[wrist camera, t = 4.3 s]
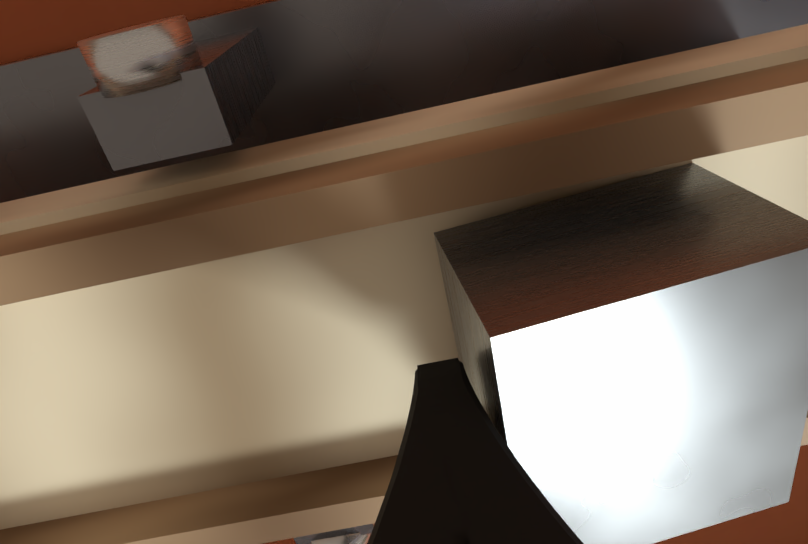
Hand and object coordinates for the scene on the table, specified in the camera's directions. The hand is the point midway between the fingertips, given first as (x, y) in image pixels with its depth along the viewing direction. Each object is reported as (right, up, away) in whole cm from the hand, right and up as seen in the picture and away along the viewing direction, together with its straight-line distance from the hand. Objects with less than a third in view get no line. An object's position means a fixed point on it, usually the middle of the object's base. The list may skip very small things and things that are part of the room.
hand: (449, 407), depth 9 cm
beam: (-4, +1, +2) cm, 4 cm away
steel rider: (+2, +1, +1) cm, 3 cm away
